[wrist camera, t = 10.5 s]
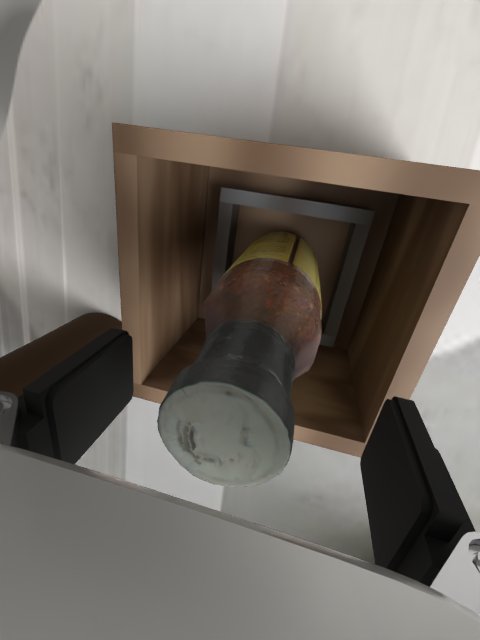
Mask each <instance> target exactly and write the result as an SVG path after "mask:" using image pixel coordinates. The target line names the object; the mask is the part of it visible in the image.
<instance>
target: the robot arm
mask: <svg viewBox="0 0 480 640" xmlns="http://www.w3.org/2000/svg"><path fill="white" fill-rule="evenodd" d="M22 390H23V394H21V395H20V396H19V397H17V396H16V395H15V394H12V393H10V392H2V391H0V640H480V533H479V532H476V531H475V529H474V527H473V525H472V522H471V520H470V518H469V516H468V514H467V512H466V509H465V507H464V505H463V503H462V501H461V498H460V496H459V494H458V492H457V490H456V488H455V485H454V483H453V481H452V479H451V477H450V474H449V472H448V470H447V468H446V466H445V463H444V461H443V459H442V457H441V455H440V453H439V451H438V450H437V449H436V448H435V447H434V445H433V443H432V441H431V438H430V436H429V434H428V432H427V429H426V427H425V425H424V423H423V420H422V418H421V416H420V414H419V411H418V409H417V407H416V405H415V403H414V401H412V400H408V399H404V398H400V397H396V396H394V397H393V398H392V399H391V400H390V399H386V401H385V402H384V405H383V407H382V409H381V412H380V414H379V416H378V419H377V421H376V423H375V426H374V428H373V430H372V432H371V435H370V437H369V439H368V442H367V444H366V446H365V449H364V451H363V453H362V456H361V463H360V465H361V472H362V479H363V486H364V492H365V499H366V505H367V512H368V518H369V525H370V531H371V538H372V545H373V551H374V558H375V564H376V565H375V564H372V563H370V562H367V561H364V560H361V559H358V558H355V557H352V556H350V555H347V554H344V553H341V552H338V551H335V550H333V549H330V548H327V547H324V546H321V545H318V544H315V543H312V542H309V541H306V540H303V539H300V538H297V537H294V536H291V535H288V534H285V533H282V532H279V531H276V530H273V529H270V528H267V527H264V526H261V525H258V524H255V523H252V522H249V521H246V520H243V519H240V518H237V517H234V516H231V515H228V514H225V513H222V512H219V511H216V510H213V509H210V508H207V507H204V506H201V505H198V504H195V503H192V502H189V501H186V500H182V499H179V498H176V497H173V496H170V495H167V494H164V493H161V492H158V491H155V490H152V489H149V488H146V487H143V486H140V485H136V484H133V483H130V482H127V481H124V480H121V479H118V478H115V477H112V476H108V475H105V474H102V473H99V472H96V471H93V470H90V469H87V468H83V467H80V466H77V465H74V464H75V463H76V462H77V461H78V460H79V459H80V458H81V456H82V455H83V454H84V453H85V452H86V451H87V450H88V448H89V447H90V446H91V445H92V444H93V443H94V442H95V440H96V439H97V438H98V437H99V436H100V435H101V434H102V432H103V431H104V430H105V429H106V428H107V427H108V426H109V424H110V423H111V422H112V421H113V420H114V419H115V418H116V416H117V415H118V414H119V413H120V412H121V411H122V410H123V409H124V407H125V406H126V405H127V404H128V403H129V402H130V400H131V399H132V396H133V392H134V387H133V340H132V336H130V335H129V333H128V331H125V330H121V329H117V328H110V329H109V330H107V331H106V332H104V333H103V334H101V335H100V336H99V337H97V338H96V339H94V340H93V341H91V342H90V343H88V344H87V345H85V346H84V347H82V348H81V349H80V350H78V351H77V352H75V353H74V354H72V355H71V356H69V357H68V358H66V359H65V360H63V361H62V362H60V363H59V364H58V365H56V366H55V367H53V368H52V369H50V370H49V371H47V372H46V373H44V374H43V375H41V376H40V377H38V378H37V379H36V380H34V381H33V382H31V383H30V384H28V385H27V386H25V387H24V388H22Z"/></svg>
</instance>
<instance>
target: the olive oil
mask: <svg viewBox="0 0 480 640" xmlns="http://www.w3.org/2000/svg"><path fill="white" fill-rule="evenodd" d="M110 328H117V329H121V330H122V323H121V322H120V321H118V320H117V319H115V318H113V317H111V316H108V315H105V314H100V313H89V314H85V315H82V316H80V317H78V318H76V319H74V320H72V321H70V322H69V323H67V324H65V325H63V326H61V327H59V328H57V329H56V330H54V331H52V332H50V333H48V334H46V335H44V336H42V337H40V338H38V339H36V340H34V341H32V342H31V343H29V344H27V345H25V346H23V347H21V348H19V349H17V350H15V351H13V352H11V353H9V354H7V355H5V356H3V357H1V358H0V391H2V392H10V393H12V394H15V395H16V396H17V397H19V396H20V395H21V394H23V390H22V388H24V387H25V386H27V385H28V384H30V383H31V382H33V381H34V380H36V379H37V378H38V377H40V376H41V375H43V374H44V373H46V372H47V371H49V370H50V369H52V368H53V367H55V366H56V365H58V364H59V363H60V362H62V361H63V360H65V359H66V358H68V357H69V356H71V355H72V354H74V353H75V352H77V351H78V350H80V349H81V348H82V347H84V346H85V345H87V344H88V343H90V342H91V341H93V340H94V339H96V338H97V337H99V336H100V335H101V334H103V333H104V332H106V331H107V330H109V329H110Z"/></svg>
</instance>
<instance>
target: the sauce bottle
mask: <svg viewBox="0 0 480 640" xmlns="http://www.w3.org/2000/svg"><path fill="white" fill-rule="evenodd" d="M203 309H204V313H205V327H206V341H205V342H204V344H203V346H202V348H201V353H200V354H199V356H198V358H197V359H196V360H195V362H194V363H193V364H192V365H190V366H188V367H186V368H185V369H183V370H182V371H181V372H180V373H179V374H178V376H177V377H176V379H175V380H174V382H173V384H172V385H171V387H170V389H169V391H168V393H167V394H166V396H165V398H164V400H163V401H162V403H161V405H160V408H159V416H158V420H157V422H158V431H159V433H160V436H161V438H162V440H163V443H164V444H165V446H166V448H167V449H168V451H169V452H170V453H171V454H172V455H173V457H174V458H175V459H176V460H177V461H178V463H179V464H180V465H181V466H182V467H184V468H185V469H186V470H187V471H189V472H190V473H191V474H192V475H193V476H195V477H197V478H199V479H201V480H204V481H207V482H209V483H212V484H216V485H222V486H231V487H244V486H251V485H258V484H261V483H265V482H268V481H270V480H271V479H272V478H274V477H275V476H277V475H279V474H280V472H281V471H282V470H283V468H284V467H285V466H286V465H287V463H288V461H289V458H290V455H291V450H292V443H293V437H294V426H295V417H294V416H295V413H294V407H293V405H292V402H291V400H290V397H291V389H292V384H293V381H294V379H295V378H297V377H299V376H300V375H302V374H304V373H305V372H307V371H309V369H310V368H311V366H312V365H313V363H314V360H315V356H316V353H317V350H318V346H319V344H320V339H321V332H322V330H321V315H322V304H321V291H320V281H319V270H318V262H317V259H316V256H315V253H314V251H313V250H312V248H311V247H310V246H309V244H308V243H307V242H306V241H305V240H304V239H302V238H301V237H300V236H299V235H297V234H295V233H292V232H288V231H279V232H271V233H267V234H265V235H263V236H261V237H259V238H258V239H256V240H255V241H254V242H253V243H252V244H251V245H250V246H249V247H248V248H247V249H246V250H245V251H244V253H243V254H242V255H241V256H240V257H239V258H238V259H237V260H236V261H235V263H234V264H233V265H232V266H231V267H230V268H229V269H228V270H227V272H226V273H225V274H224V275H223V276H222V277H221V279H220V280H219V281H218V283H217V285H216V287H215V288H214V289H213V291H212V292H211V293H210V294H209V296H208V297H207V298H206V299H205V301H204V303H203Z"/></svg>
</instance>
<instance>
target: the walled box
mask: <svg viewBox="0 0 480 640" xmlns="http://www.w3.org/2000/svg"><path fill="white" fill-rule="evenodd" d="M112 133H113V153H114V173H115V194H116V214H117V235H118V255H119V276H120V296H121V316H122V330H125V331H128V333H129V335H130V336H132V340H133V387H134V392H133V396H134V397H137V398H141V399H145V400H149V401H152V402H156V403H160V404H161V403H162V401H163V400H164V398H165V396H166V394H167V393H168V391H169V389H170V387H171V385H172V384H173V382H174V380H175V379H176V377H177V376H178V374H179V373H180V372H181V371H182V370H183V369H185V368H186V367H188V366H190V365H192V364H193V363H194V362H195V360H196V359H197V358H198V356H199V354H200V353H201V348H202V346H203V344H204V342H205V341H206V327H205V313H204V309H203V303H204V301H205V299H206V298H207V297H208V296H209V294H210V293H211V292H212V291H213V289H214V288H215V287H216V285H217V283H218V281H219V280H220V279H221V277H222V276H223V275H224V274H225V273H226V272H227V270H228V269H229V268H230V267H231V266H232V265H233V264H234V263H235V261H236V260H237V259H238V258H239V257H240V256H241V255H242V254H243V253H244V251H245V250H246V249H247V248H248V247H249V246H250V245H251V244H252V243H253V242H254V241H255V240H256V239H258V238H259V237H261V236H263V235H265V234H267V233H271V232H279V231H288V232H292V233H295V234H297V235H299V236H300V237H301V238H302V239H304V240H305V241H306V242H307V243H308V244H309V246H310V247H311V248H312V250H313V251H314V253H315V256H316V259H317V262H318V270H319V281H320V291H321V304H322V315H321V330H322V332H321V339H320V344H319V346H318V350H317V353H316V356H315V360H314V363H313V365H312V366H311V368H310V369H309V371H307V372H305V373H304V374H302V375H300V376H299V377H297V378H295V379H294V381H293V384H292V389H291V397H290V400H291V402H292V405H293V407H294V413H295V416H294V417H295V426H294V437H293V439H294V440H297V441H301V442H305V443H309V444H312V445H316V446H320V447H323V448H327V449H331V450H335V451H338V452H342V453H346V454H350V455H353V456H357V457H361V456H362V453H363V451H364V449H365V446H366V444H367V442H368V439H369V437H370V435H371V432H372V430H373V428H374V426H375V423H376V421H377V419H378V416H379V414H380V412H381V409H382V407H383V405H384V402H385V401H386V399H390V400H391V399H392V398H393V397H394V396H396V397H400V398H404V399H408V400H409V399H410V397H411V395H412V393H413V391H414V389H415V387H416V385H417V383H418V381H419V379H420V377H421V375H422V373H423V371H424V368H425V366H426V364H427V362H428V360H429V358H430V356H431V354H432V352H433V350H434V348H435V346H436V344H437V342H438V340H439V338H440V336H441V333H442V331H443V329H444V327H445V325H446V323H447V321H448V319H449V317H450V315H451V313H452V311H453V309H454V307H455V305H456V303H457V301H458V299H459V296H460V294H461V292H462V290H463V288H464V286H465V284H466V282H467V280H468V278H469V276H470V274H471V272H472V270H473V268H474V266H475V264H476V262H477V259H478V257H479V255H480V171H479V170H472V169H464V168H456V167H449V166H441V165H433V164H426V163H418V162H410V161H403V160H395V159H388V158H380V157H372V156H365V155H357V154H349V153H342V152H334V151H326V150H319V149H311V148H303V147H296V146H288V145H280V144H273V143H265V142H257V141H250V140H242V139H234V138H227V137H219V136H212V135H204V134H196V133H189V132H181V131H173V130H166V129H158V128H150V127H143V126H135V125H127V124H120V123H112Z"/></svg>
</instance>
